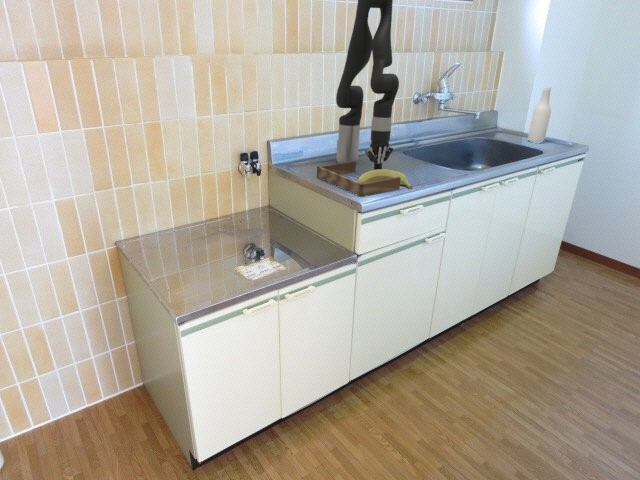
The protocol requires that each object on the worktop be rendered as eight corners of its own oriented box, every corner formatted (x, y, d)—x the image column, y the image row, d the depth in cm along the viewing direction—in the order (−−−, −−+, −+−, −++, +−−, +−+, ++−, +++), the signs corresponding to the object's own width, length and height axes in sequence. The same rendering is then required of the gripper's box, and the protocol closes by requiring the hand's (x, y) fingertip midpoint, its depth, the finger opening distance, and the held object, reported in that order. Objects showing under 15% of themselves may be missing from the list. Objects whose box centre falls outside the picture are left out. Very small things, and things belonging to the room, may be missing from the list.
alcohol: (527, 142, 259) (539, 87, 246) (526, 139, 266) (537, 85, 254) (544, 144, 256) (557, 88, 244) (542, 141, 264) (555, 86, 252)
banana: (370, 161, 183) (418, 174, 176) (369, 172, 186) (415, 186, 180) (356, 177, 174) (406, 192, 167) (355, 189, 177) (404, 204, 170)
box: (316, 177, 184) (317, 166, 183) (353, 171, 194) (354, 160, 193) (360, 197, 163) (361, 184, 162) (399, 188, 173) (400, 177, 172)
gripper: (387, 125, 182) (384, 167, 190) (361, 128, 176) (358, 171, 183) (400, 128, 177) (396, 172, 184) (373, 131, 170) (370, 176, 177)
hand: (377, 172), depth 183 cm, fingers closed
